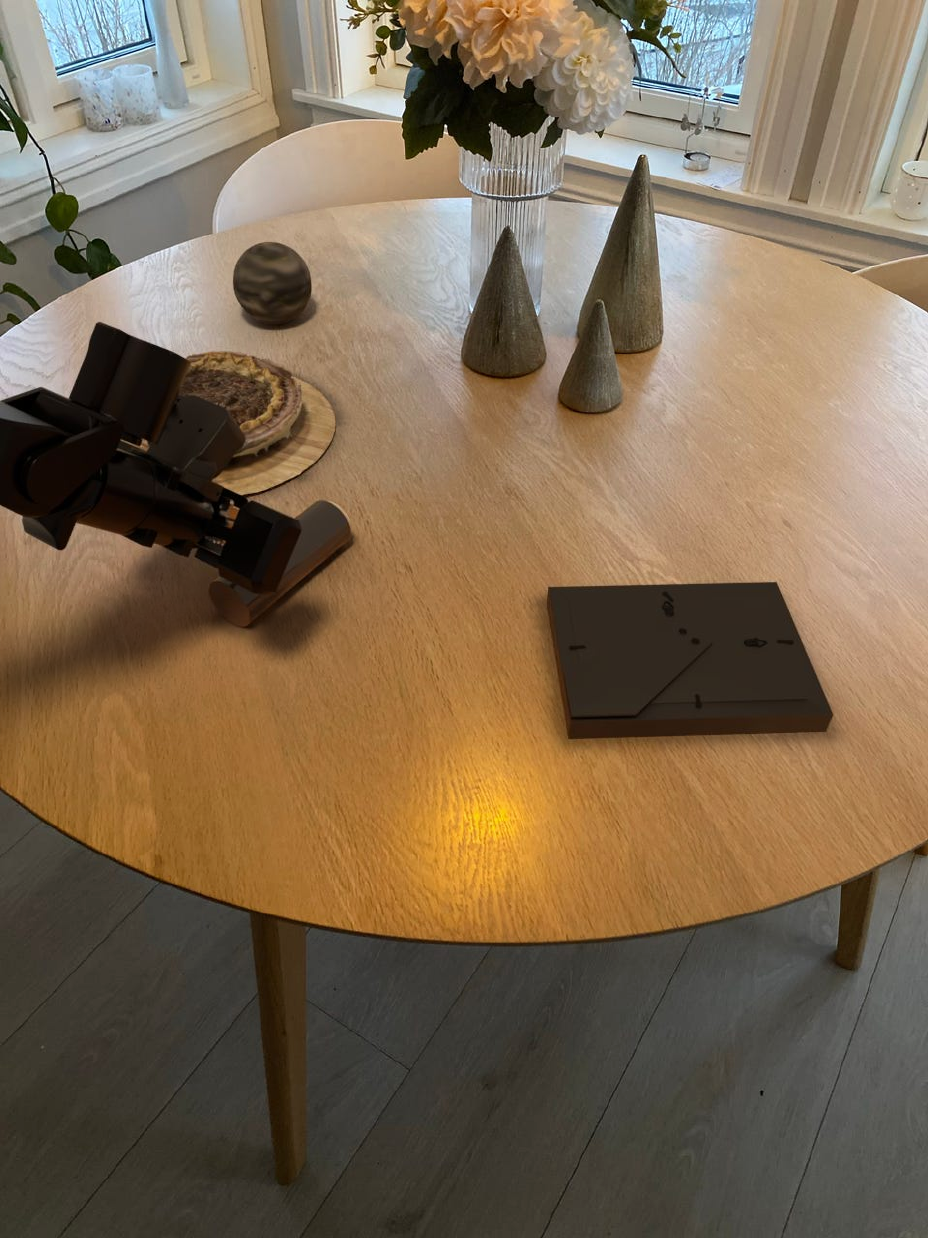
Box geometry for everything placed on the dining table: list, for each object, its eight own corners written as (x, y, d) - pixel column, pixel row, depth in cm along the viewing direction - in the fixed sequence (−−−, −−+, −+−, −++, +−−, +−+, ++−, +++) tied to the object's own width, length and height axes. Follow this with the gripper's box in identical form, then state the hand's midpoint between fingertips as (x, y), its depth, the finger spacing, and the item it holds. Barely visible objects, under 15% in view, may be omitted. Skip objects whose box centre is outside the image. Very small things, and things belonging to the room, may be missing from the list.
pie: (244, 347, 121) (238, 309, 118) (386, 434, 107) (385, 394, 104) (35, 430, 107) (21, 390, 103) (168, 543, 93) (157, 501, 89)
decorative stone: (310, 338, 123) (302, 262, 116) (232, 337, 123) (219, 261, 116) (319, 303, 130) (312, 229, 123) (245, 302, 130) (234, 228, 123)
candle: (229, 578, 80) (338, 493, 89) (199, 583, 84) (307, 500, 93) (258, 625, 82) (363, 537, 91) (228, 628, 86) (331, 542, 94)
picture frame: (568, 738, 76) (826, 731, 77) (571, 715, 74) (836, 708, 75) (546, 603, 87) (771, 598, 88) (548, 580, 85) (778, 575, 86)
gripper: (267, 428, 63) (377, 484, 78) (76, 349, 71) (209, 414, 85) (203, 583, 64) (323, 610, 78) (20, 489, 71) (161, 530, 86)
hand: (252, 535), depth 82 cm, fingers closed
